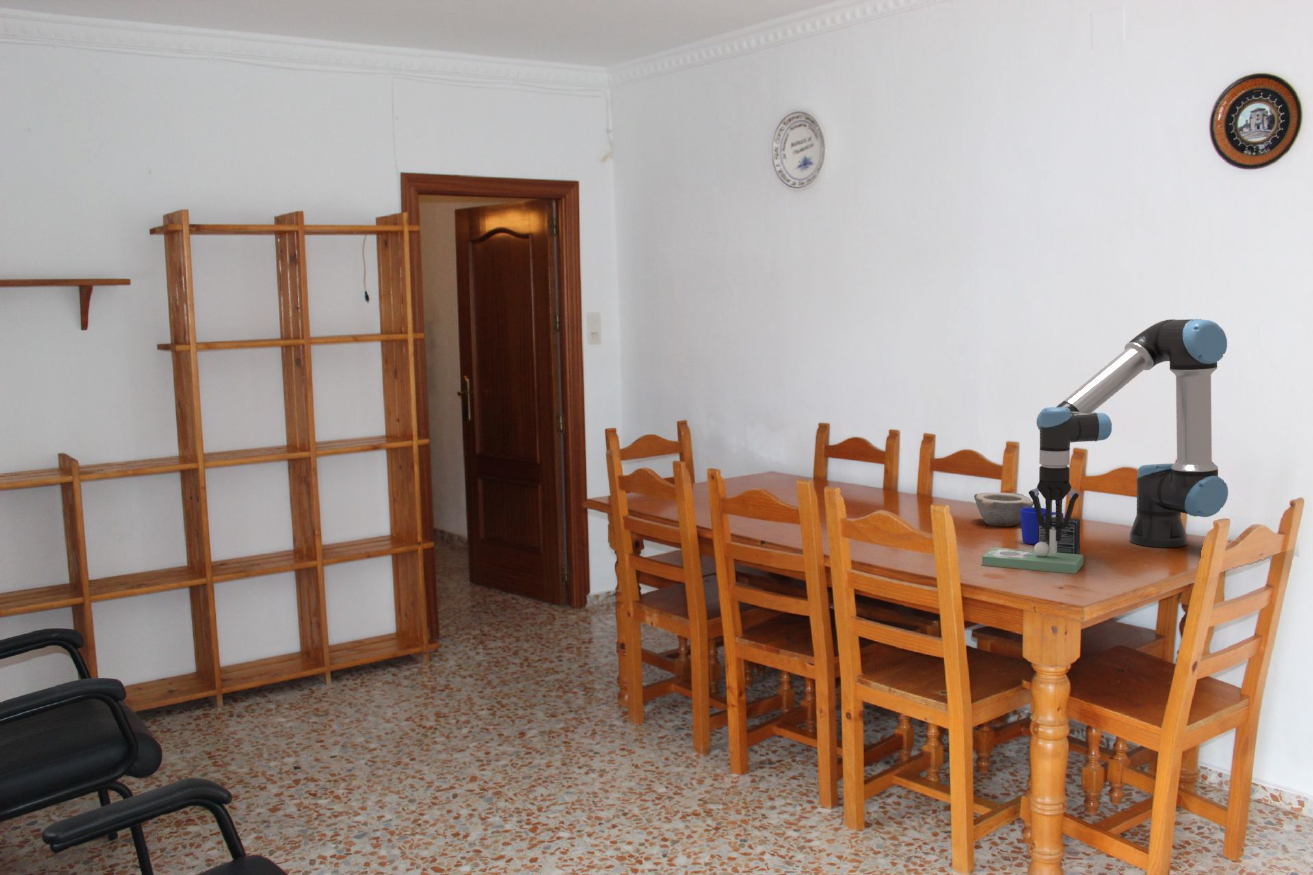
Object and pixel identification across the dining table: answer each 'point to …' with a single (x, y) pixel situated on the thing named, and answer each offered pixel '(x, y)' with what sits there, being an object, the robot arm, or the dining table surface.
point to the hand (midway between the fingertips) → (1053, 552)
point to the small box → (1064, 536)
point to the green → (1032, 560)
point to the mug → (1030, 524)
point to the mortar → (1001, 507)
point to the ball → (1041, 549)
